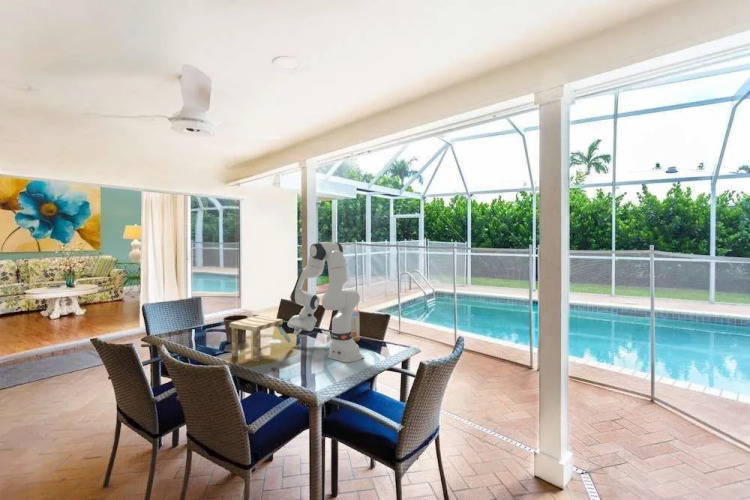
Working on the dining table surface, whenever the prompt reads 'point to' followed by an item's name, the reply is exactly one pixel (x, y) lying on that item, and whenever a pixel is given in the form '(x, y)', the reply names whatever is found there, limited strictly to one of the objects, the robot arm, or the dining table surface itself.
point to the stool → (255, 326)
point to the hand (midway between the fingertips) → (295, 334)
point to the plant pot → (229, 330)
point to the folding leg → (283, 333)
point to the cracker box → (355, 325)
